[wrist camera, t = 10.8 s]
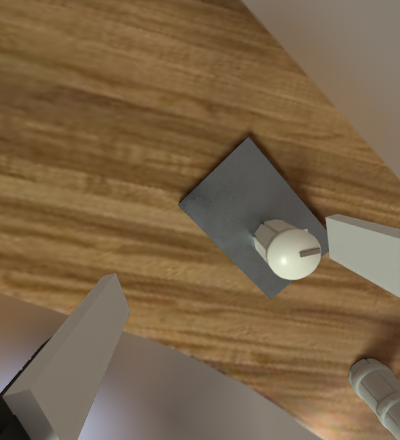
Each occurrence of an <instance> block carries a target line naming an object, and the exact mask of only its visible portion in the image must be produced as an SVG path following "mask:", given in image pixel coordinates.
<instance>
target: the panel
mask: <svg viewBox="0 0 400 440" xmlns="http://www.w3.org/2000/svg"><path fill="white" fill-rule="evenodd" d="M178 206H179V207H180V208H181V209H182V210H183V211H184V212H185V213H186V214H187V215H188V216H189V217H190V218H191V219H192V220H193V221H194V222H195V223H196V224H197V225H198V226H199V227H200V228H201V229H202V230H203V231H204V232H205V233H206V234H207V235H208V236H209V237H210V238H211V239H212V240H213V241H214V242H215V243H216V244H217V245H218V246H219V247H220V248H221V249H222V250H223V251H224V252H225V253H226V255H227V256H228V257H229V258H230V259H231V260H232V261H233V262H234V263H235V264H236V265H237V266H238V267H239V268H240V269H241V270H242V271H243V272H244V273H245V274H246V275H247V276H248V277H249V278H250V279H251V280H252V281H253V282H254V283H255V284H256V285H257V286H258V287H259V288H260V289H261V290H262V291H263V292H264V293H265V294H266V295H267V296H268V297H269V298H270V299H272V298H273V297H274V296H276V295H277V294H278V293H279V292H280V291H282V290H283V289H284V288H285V287H286V286H288V285H289V284H290V283H291V282H292V281H293V280H288V279H284V278H281V277H279V276H278V275H277V274H275V273H274V272H273V270H272V269H271V268H270V267H269V265H268V264H267V262H266V261H265V260H264V259H263V258H262V256H261V255H260V254H259V253H258V251H257V250H256V248H255V243H254V238H253V237H256V236H255V235H254V233H255V232H256V231H257V229H258V228H259V226H260V225H261V224H263V225H264V222H265V221H270V220H274V219H278V220H279V219H280V220H282V221H284V222H286V223H288V224H290V225H292V226H294V227H296V228H298V229H302V230H304V231H306V232H308V233H310V234H312V235H313V236H314V237H315V238H316V239H317V240H318V242H319V244H320V247H321V257H322V256H323V255H325V254H326V253H327V252H328V251H329V244H328V235H327V230H326V229H325V228H324V227H323V226H322V224H321V223H320V222H319V221H318V220H317V218H316V217H315V216H314V215H313V214H312V212H311V211H310V210H309V209H308V208H307V206H306V205H305V204H304V203H303V202H302V200H301V199H300V198H299V197H298V196H297V194H296V193H295V192H294V191H293V190H292V188H291V187H290V186H289V185H288V184H287V182H286V181H285V180H284V179H283V178H282V176H281V175H280V174H279V173H278V172H277V170H276V169H275V168H274V167H273V166H272V164H271V163H270V162H269V161H268V160H267V158H266V157H265V156H264V155H263V154H262V152H261V151H260V150H259V149H258V148H257V146H256V145H255V144H254V143H253V142H252V140H251V139H250V138H249V137H248V138H246V139H245V140H244V141H243V142H242V143H241V144H240V145H239V146H238V147H237V148H236V149H235V150H234V151H233V152H232V153H231V154H230V155H229V156H228V157H227V158H225V159H224V160H223V161H222V162H221V163H220V164H219V165H218V166H217V167H216V168H215V169H214V170H213V171H212V172H211V173H210V174H209V175H208V176H207V177H206V178H205V179H204V180H203V181H202V182H201V183H200V184H199V185H198V186H197V187H195V188H194V189H193V190H192V191H191V192H190V193H189V194H188V195H187V196H186V197H185V198H184V199H183V200H182V201H181V202H180V203H179V204H178Z"/></svg>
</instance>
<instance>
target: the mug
mask: <svg viewBox="0 0 400 440" xmlns="http://www.w3.org/2000/svg"><path fill="white" fill-rule="evenodd" d="M348 379H349V382H350V383H351V385H352V387H353V389H354V391H355V392H356V393H357V395H358V396H359V397H361V398H362V399H364V400H365V401H366V403H367V404H368V405H369V406H370V407H371V409H372V410H373V411H374V412H375V413H376V415H377V417H378V419H379V420H380V422H381V423H382V424H383V425H384V427H385V428H387V429H389V430H390V431H391V433H392V434H393V435H394V436H395V437H396V439H397V440H400V382H399V381H398V380H397V379H396V378H395V376H394V374H393V372H392V371H391V370H390V369H389V368H388V367H387V366H385V365H383V364H381V363H380V362H379V361H377V360H375V359H371V358H369V359H366V360H365V359H362V360H360V361H358V362H356V363H355V364H354V365H353V366H352V367H351V370H349V376H348Z"/></svg>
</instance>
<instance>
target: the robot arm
mask: <svg viewBox="0 0 400 440" xmlns="http://www.w3.org/2000/svg"><path fill="white" fill-rule="evenodd" d="M326 225H327V235H328V244H329V253H330V258H331V259H332V260H334V261H336V262H338V263H340V264H341V265H343V266H345V267H347V268H348V269H350V270H352V271H354V272H355V273H357V274H359V275H361V276H363V277H364V278H366V279H368V280H370V281H371V282H373V283H375V284H377V285H378V286H380V287H382V288H384V289H386V290H387V291H389V292H391V293H393V294H394V295H396V296H398V297H400V229H396V228H392V227H388V226H384V225H380V224H376V223H372V222H368V221H364V220H360V219H356V218H352V217H348V216H343V215H339V214H336V215H332V216H329V217H326ZM129 314H130V309H129V306H128V304H127V301H126V298H125V296H124V293H123V291H122V288H121V286H120V283H119V280H118V278H117V275H116V273H113V274H109V275H105V276H103V277H102V278H101V279H100V280H99V282H98V283H97V284H96V285H95V286H94V288H93V289H92V290H91V291H90V292H89V294H88V295H87V296H86V297H85V298H84V300H83V301H82V302H81V303H80V304H79V306H78V307H77V308H76V309H75V310H74V311H73V313H72V314H71V315H70V316H69V317H68V319H67V320H66V321H65V322H64V324H63V325H62V326H61V327H60V328H59V330H58V331H57V332H56V333H55V334H54V335H53V336H52V337H51V338H50V339H49V340H48V341H46V342H45V343H44V344H43V345H41V347H40V348H39V349H38V350H37V352H35V354H34V355H33V356H32V357H31V359H30V360H29V361H28V362H27V363H26V364H25V365H24V367H23V369H22V370H20V371H19V372H18V374H17V375H16V376H15V377H14V378H13V379H12V380H11V382H10V383H9V384H8V385H7V386H6V387H5V388H4V390H3V391H2V392H1V393H0V440H77V439H78V437H79V434H80V432H81V429H82V427H83V425H84V422H85V420H86V418H87V415H88V413H89V410H90V408H91V405H92V403H93V401H94V398H95V396H96V393H97V391H98V388H99V386H100V383H101V381H102V379H103V377H104V374H105V372H106V369H107V367H108V364H109V362H110V360H111V357H112V355H113V352H114V350H115V348H116V345H117V343H118V340H119V338H120V335H121V333H122V331H123V328H124V326H125V323H126V321H127V319H128V316H129Z"/></svg>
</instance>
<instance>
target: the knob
mask: <svg viewBox="0 0 400 440" xmlns="http://www.w3.org/2000/svg"><path fill="white" fill-rule="evenodd" d="M254 235H255V236H256V237H253V238H254V243H255V248H256V250H257V251H258V253H259V254H260V255H261V256H262V258H263V259H264V260H265V261H266V262H267V264H268V265H269V267H270V268H271V269H272V270H273V272H274V273H275V274H277V275H278V276H279V277H281V278H284V279H288V280H296V279H300V278H303V277H305V276H307V275H309V274H310V273H311V272H313V271H314V269H315V268H316V267H317V265H318V263H319V261H320V258H321V247H320V244H319V242H318V240H317V239H316V238H315V237H314V236H313V235H312V234H310V233H308V232H306V231H304V230H302V229H298V228H296V227H294V226H292V225H290V224H288V223H286V222H284V221H282V220H280V219H279V220H278V219H274V220H270V221H265V222H264V225H263V224H261V225H260V226H259V228H258V229H257V231H256V232H255V233H254Z"/></svg>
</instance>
